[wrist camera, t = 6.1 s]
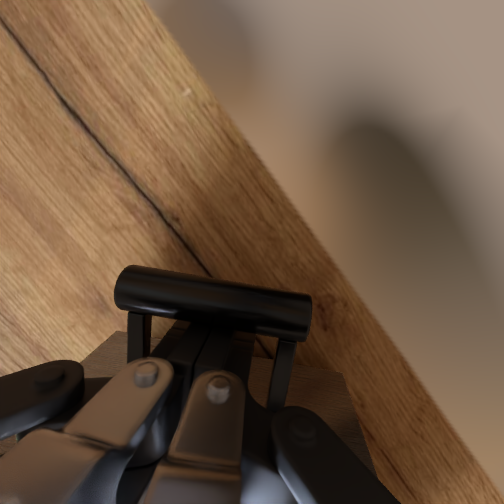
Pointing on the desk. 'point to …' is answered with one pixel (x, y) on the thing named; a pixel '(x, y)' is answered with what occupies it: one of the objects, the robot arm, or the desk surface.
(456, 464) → the desk surface
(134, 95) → the desk surface
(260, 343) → the desk surface
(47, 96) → the desk surface
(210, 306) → the drawer
